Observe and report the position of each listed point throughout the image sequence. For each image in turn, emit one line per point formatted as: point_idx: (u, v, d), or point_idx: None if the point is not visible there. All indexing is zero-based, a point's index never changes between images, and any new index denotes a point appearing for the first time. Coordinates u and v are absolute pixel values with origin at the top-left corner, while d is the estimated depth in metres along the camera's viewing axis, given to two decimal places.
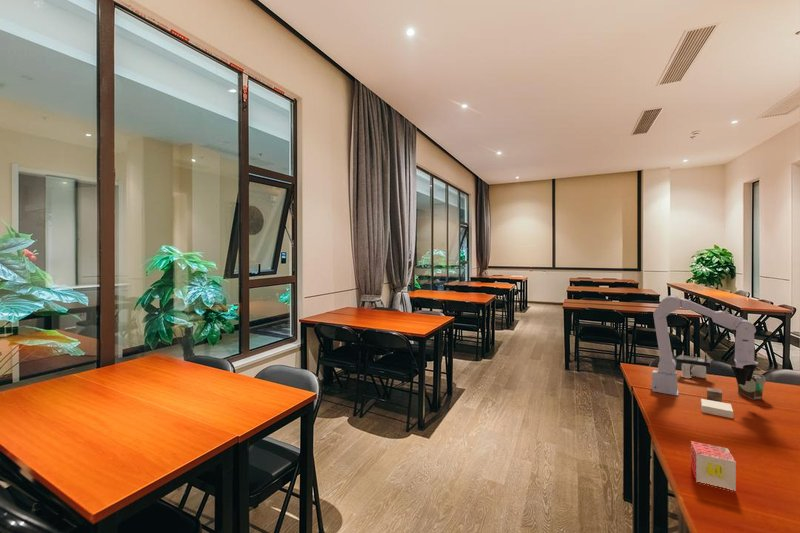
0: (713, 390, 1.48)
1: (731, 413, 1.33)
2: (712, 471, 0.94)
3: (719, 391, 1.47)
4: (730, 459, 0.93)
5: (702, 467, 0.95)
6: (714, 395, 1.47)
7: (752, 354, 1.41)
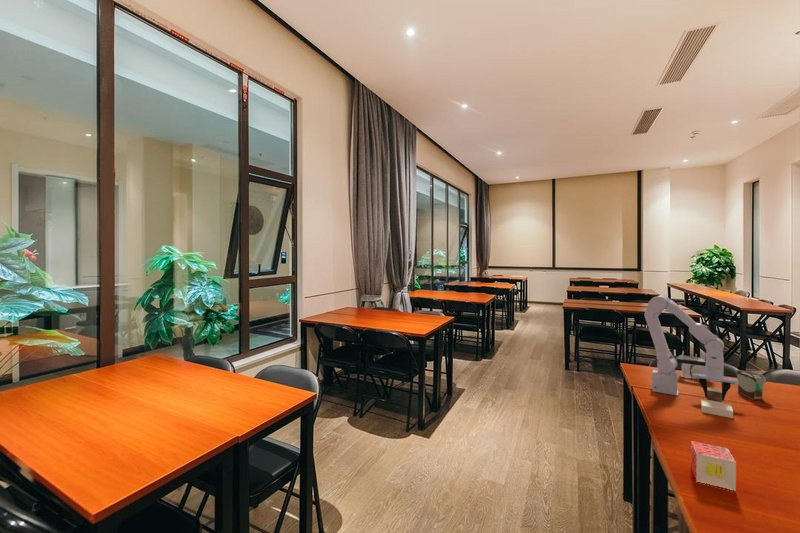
0: (713, 390, 1.48)
1: (731, 413, 1.33)
2: (712, 471, 0.94)
3: (719, 391, 1.47)
4: (730, 459, 0.93)
5: (702, 467, 0.95)
6: (714, 395, 1.47)
7: (711, 370, 1.47)
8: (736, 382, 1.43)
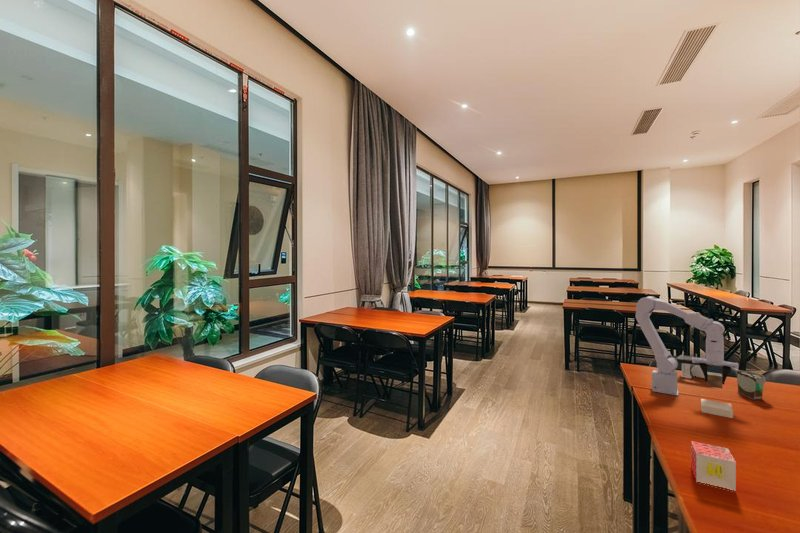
0: (713, 374, 1.48)
1: (731, 413, 1.33)
2: (712, 471, 0.94)
3: (719, 375, 1.47)
4: (730, 459, 0.93)
5: (702, 467, 0.95)
6: (714, 379, 1.46)
7: (711, 354, 1.47)
8: (736, 365, 1.43)
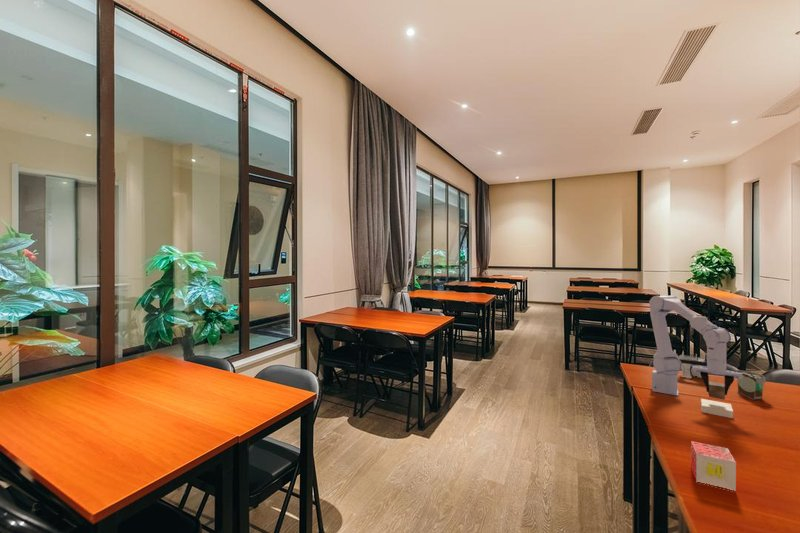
0: (715, 384, 1.39)
1: (731, 413, 1.33)
2: (712, 471, 0.94)
3: (721, 385, 1.38)
4: (730, 459, 0.93)
5: (702, 467, 0.95)
6: (716, 389, 1.38)
7: (713, 363, 1.38)
8: (740, 375, 1.34)
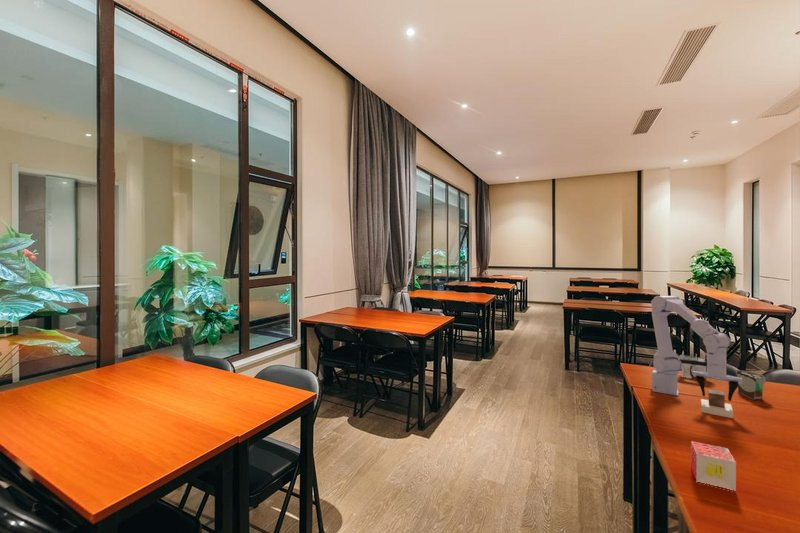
0: (715, 392, 1.39)
1: (731, 413, 1.33)
2: (712, 471, 0.94)
3: (721, 393, 1.38)
4: (730, 459, 0.93)
5: (702, 467, 0.95)
6: (716, 397, 1.38)
7: (713, 367, 1.38)
8: (740, 380, 1.34)
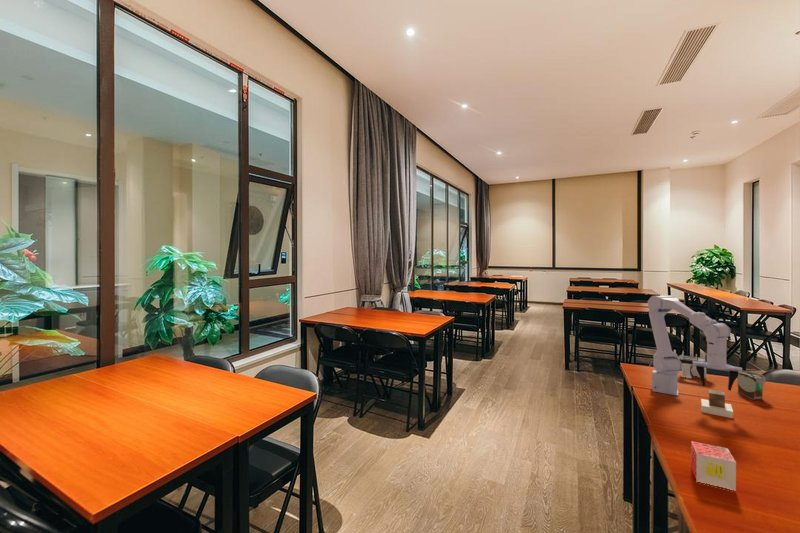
0: (715, 392, 1.39)
1: (731, 413, 1.33)
2: (712, 471, 0.94)
3: (722, 393, 1.38)
4: (730, 459, 0.93)
5: (702, 467, 0.95)
6: (716, 397, 1.38)
7: (713, 357, 1.38)
8: (740, 370, 1.34)
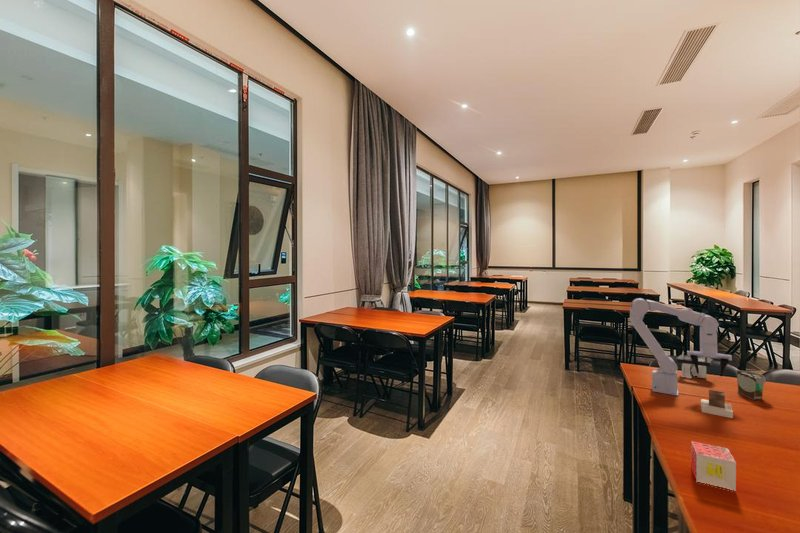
0: (715, 392, 1.39)
1: (731, 413, 1.33)
2: (712, 471, 0.94)
3: (722, 393, 1.38)
4: (730, 459, 0.93)
5: (702, 467, 0.95)
6: (716, 398, 1.38)
7: (705, 346, 1.51)
8: (730, 357, 1.48)
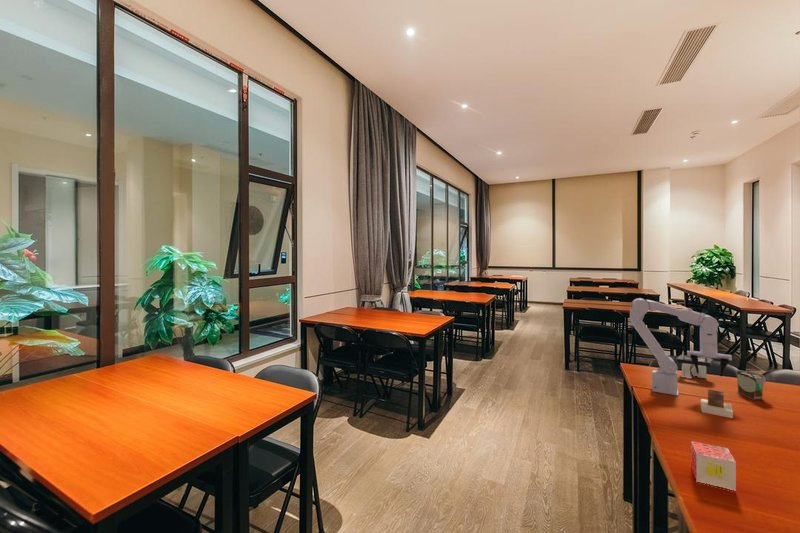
0: (714, 392, 1.39)
1: (731, 413, 1.33)
2: (712, 471, 0.94)
3: (721, 393, 1.38)
4: (730, 459, 0.93)
5: (702, 467, 0.95)
6: (715, 397, 1.38)
7: (705, 346, 1.51)
8: (730, 357, 1.48)
